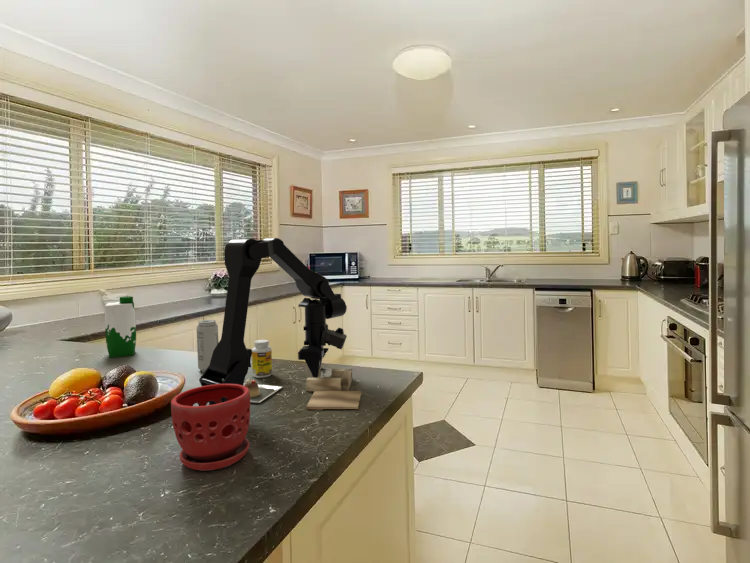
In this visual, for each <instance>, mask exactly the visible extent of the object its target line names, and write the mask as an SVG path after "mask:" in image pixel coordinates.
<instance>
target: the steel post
mask: <svg viewBox="0 0 750 563" xmlns="http://www.w3.org/2000/svg"><path fill="white" fill-rule="evenodd" d="M332 369H333V368H331V367H327V366H325V367H321V368H320V372H321V378H332Z"/></svg>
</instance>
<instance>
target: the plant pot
mask: <svg viewBox="0 0 750 563" xmlns="http://www.w3.org/2000/svg"><path fill="white" fill-rule="evenodd" d="M223 397H225V398H227V401H226V402H223V403H222V402H221V398H223ZM211 401H213V402H215V403H216V404H214V405H209V402H211ZM250 401H251V397H250V391H249V389H248V388H247V387H245V386H243V385H239V384H214V385H207V386H198V387H193V388H191V389H187V390H185V391H183V392H181V393H178V394H177V395H175V396H174V397H173V398H172V399H171V401H170V410H171V411H170V412H171V413H170V414H171V420H172V427H173V431H174V434H175V437H176V438H175V439H176V441H177V442H178V445H179V446H180V448H181V449H182V450H181V452H180V453H179V461H180V462H181V463H182V464H183V465H184V466H185V467H187V468H189V469H192V470H194V471H213V470H214V471H215V470H220V469H223V468H227V467H229V466H231V465H233V464H235V463H237V462H239V461H240V460H241V459H242V458H243V457H244V456H246V454H247V452H248V450H249V448H250V441H249V439H248V438H246V436H247V434H248V431H249V427H250V421H251V419H250V418H251V403H250ZM195 404H197V405H198V406H197V405H196V406H194V405H195ZM207 404H208V405H207Z"/></svg>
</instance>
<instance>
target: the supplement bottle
mask: <svg viewBox="0 0 750 563" xmlns="http://www.w3.org/2000/svg"><path fill="white" fill-rule="evenodd" d="M269 341H270V340H268V339H257V340H254V347H252V348H251V349H252V356H251V374H252V375H251V376H252V377H254V378H259V379H261V378H269V377H270V376H271V375H272V374H273V361H272V360H273V357H272V355H273V354H272V353H273V352H272V347H271V346H269V345H270V344H269V343H270V342H269Z"/></svg>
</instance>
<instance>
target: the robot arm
mask: <svg viewBox="0 0 750 563" xmlns="http://www.w3.org/2000/svg"><path fill="white" fill-rule="evenodd" d="M223 255H224V265H225V269H226V271H227V274H228V284H227V290H226V292H227V293H226V297H225V298H226V299H225V307H224V315H223V320H222V322H223V323H222V329H221V330H222V331H221V336H220V337H221V338H220V340H219V341H218V342H219V343H218V345H217V346H216V347H215V349H214V351H213V354H212V357H211V361H210V365H209V366H208V368H207V369H206V371H205V372H202V374H201V376H200V377H199V379H198V381H199V383H200V385H201V386H207V385H214V384H239V385H243V384H244V383H245V381H246V380H245V379H246V376H247V375H248V373H249V368H252V363H251V361H252V349H253V348H249V347H247V345H246V343H245V332H246V326H247V318H248V317H247V316H248V309H249V302H250V293H251V286H252V285H251V284H252V279H253V277H254V276H255V275H256V272H257V271H258V270H259V268H260V266H261V263H262V259H263V258H270V259H271V260H272V261H273V262H275V263H276V264H277V265H278V266H279V267H280V268H281V269H282V270H283V271H284V272H286V273H287V275H288V276H289V277H291V278H292V280H294V282H295V285H296V288H297V289H298V291H299V292H300V293H301V295H302V296H304V298H303V299H302V301H300V302H299V303H298V307H300V308H304V325H303V331H304V334H305V335H304V336H305V340H304V341H303V346H302V347H301V348H300V349H299V351H297V359H298V360H299V361H305V364H306V366H307V367H308V370H309V372H310V373H311V376H312V375H313V377H314V378H317V377H318V373H319V369H321V368H322V364H323V359H324V358H325V356H326V353H328V352H329V347H328V348H327V347H325V346H326V345H327V346H331V347H332V346H333V347H335V348H336V349H339V350H342V349H343V347H344V345H345V343H346V340H347V336H348V335H347V334H345V330H344V328H342V327H338V328H337V329H335V330H334V329H329V324H328V323H327V322H326V321H327V320H329V319H334V318H340V317H342V316H344V315H345V314H346V312H347V309H348V308H347V307H348V306H347V305H346V302H345V300H344V299H343V298H342V293H334V290H333V289H332V287H331V286H330V282H329V280H328V278H327V277H325V276H324V275H322V274H320V273H319V272H317V271H315V270H312V269H310V268H309V267H308V266H307V265H306V264H304V263H303V261H302V260H301V259H299V257H298V256H296V254H295V253H293V252H292V250H290V249H289V247H288V246H286V245H285V244H284V241H283V240H282V239H280V238H278V237H267V238H264V239H254V238H233V239H230V241H228V242H226V244H225V246H224V254H223ZM201 386H200V387H201ZM226 401H227V398H225V397H223V398H221V402H222V403H223V402H226ZM214 404H216V403H215V402H213V401H211V402H208V405H214Z"/></svg>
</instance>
